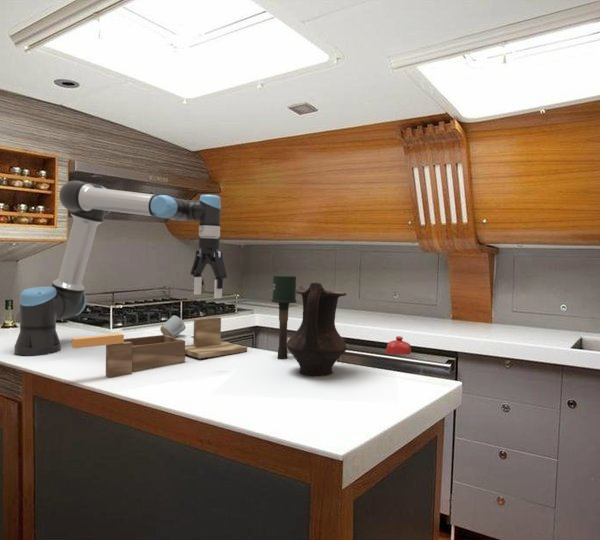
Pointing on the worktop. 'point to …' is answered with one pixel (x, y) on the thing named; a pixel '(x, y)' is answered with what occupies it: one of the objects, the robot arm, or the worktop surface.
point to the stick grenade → (283, 307)
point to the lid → (210, 340)
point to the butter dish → (398, 347)
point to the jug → (317, 332)
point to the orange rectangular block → (97, 340)
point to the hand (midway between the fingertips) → (207, 296)
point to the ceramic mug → (173, 326)
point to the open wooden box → (143, 354)
